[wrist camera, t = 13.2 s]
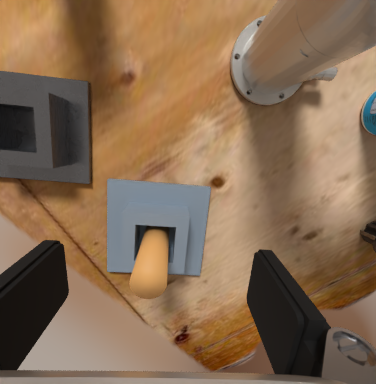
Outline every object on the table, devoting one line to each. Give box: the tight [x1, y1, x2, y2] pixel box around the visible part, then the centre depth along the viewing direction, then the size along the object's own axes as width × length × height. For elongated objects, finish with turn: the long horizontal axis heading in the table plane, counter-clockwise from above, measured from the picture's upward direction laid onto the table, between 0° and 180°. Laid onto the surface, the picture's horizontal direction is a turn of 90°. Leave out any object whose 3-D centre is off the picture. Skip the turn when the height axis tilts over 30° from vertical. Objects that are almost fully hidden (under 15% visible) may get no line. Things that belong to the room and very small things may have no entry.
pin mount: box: [0, 71, 92, 184], centre depth 30 cm, size 16×16×6 cm
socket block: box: [107, 179, 211, 275], centre depth 36 cm, size 18×18×6 cm
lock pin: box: [129, 225, 169, 299], centre depth 31 cm, size 4×4×14 cm
